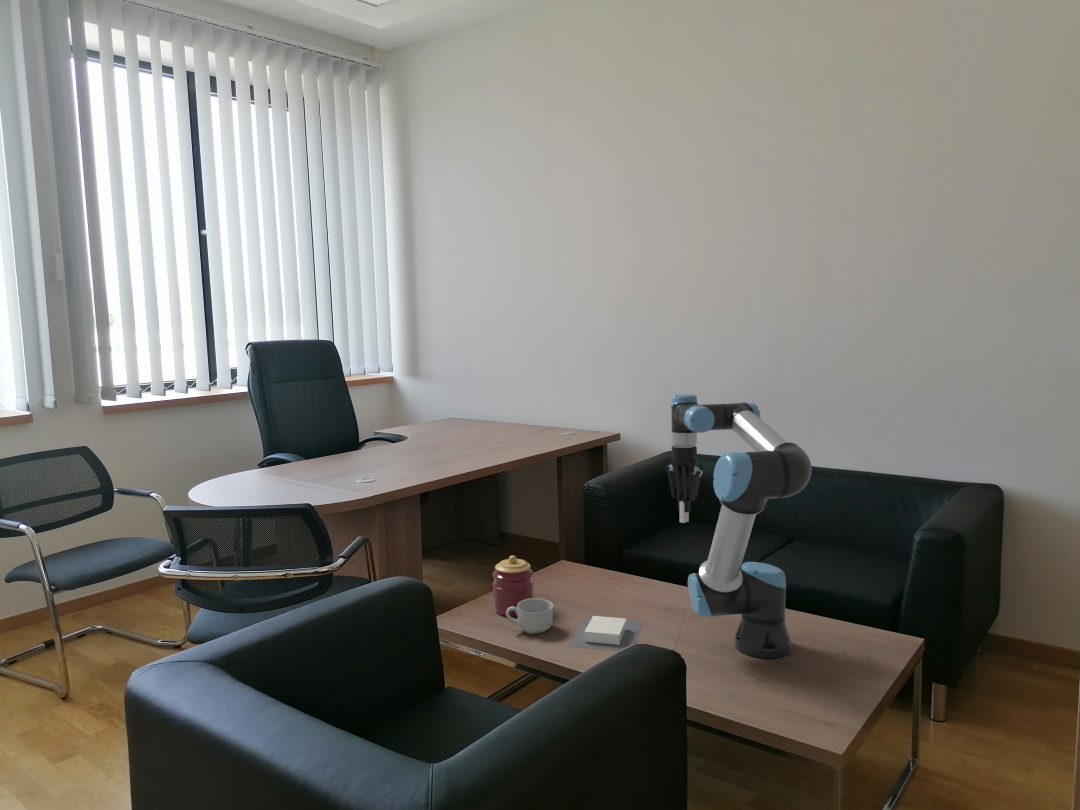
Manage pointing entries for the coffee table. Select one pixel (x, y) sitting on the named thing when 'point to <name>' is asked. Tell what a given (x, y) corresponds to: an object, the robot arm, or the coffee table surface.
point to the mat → (627, 640)
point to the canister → (511, 584)
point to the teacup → (533, 615)
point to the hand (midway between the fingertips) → (684, 521)
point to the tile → (605, 630)
